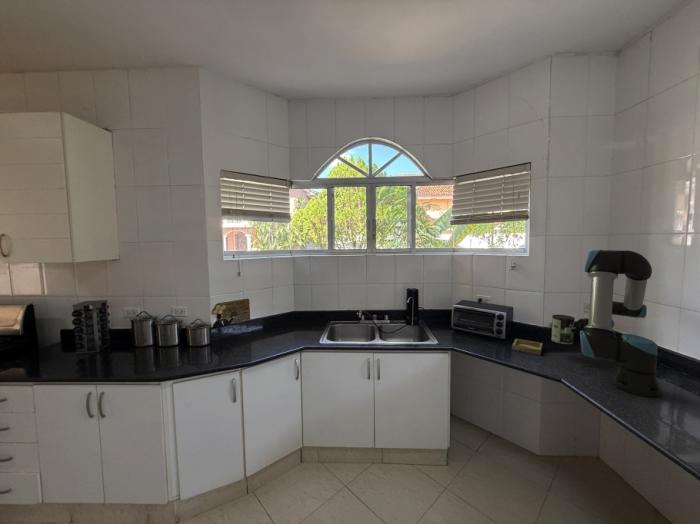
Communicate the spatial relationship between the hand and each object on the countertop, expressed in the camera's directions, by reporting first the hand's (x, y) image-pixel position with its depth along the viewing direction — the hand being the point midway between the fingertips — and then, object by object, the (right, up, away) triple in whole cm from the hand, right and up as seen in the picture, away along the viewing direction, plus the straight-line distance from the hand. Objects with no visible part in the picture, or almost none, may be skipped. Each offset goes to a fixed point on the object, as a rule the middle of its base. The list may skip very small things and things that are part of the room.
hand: (556, 327), depth 168 cm
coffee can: (+4, -8, +2) cm, 9 cm away
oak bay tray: (-8, -16, +14) cm, 23 cm away
